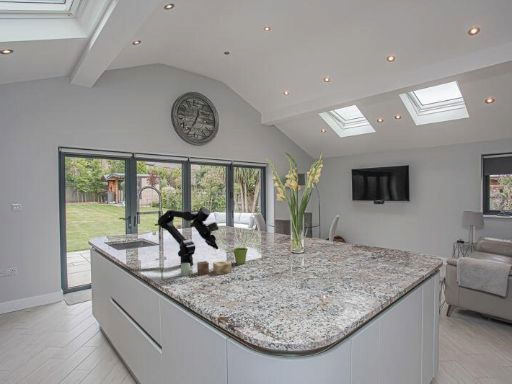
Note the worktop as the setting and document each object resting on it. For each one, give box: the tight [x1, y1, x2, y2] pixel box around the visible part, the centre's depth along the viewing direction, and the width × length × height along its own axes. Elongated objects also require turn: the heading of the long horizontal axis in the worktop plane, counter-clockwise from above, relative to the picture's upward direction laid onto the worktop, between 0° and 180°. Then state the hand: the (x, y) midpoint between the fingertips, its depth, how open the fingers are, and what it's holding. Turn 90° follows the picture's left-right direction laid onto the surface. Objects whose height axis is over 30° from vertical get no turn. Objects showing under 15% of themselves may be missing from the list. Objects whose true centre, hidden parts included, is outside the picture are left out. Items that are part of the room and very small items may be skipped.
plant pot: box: [232, 247, 249, 265], centre depth 184 cm, size 9×9×9 cm
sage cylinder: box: [180, 263, 191, 277], centre depth 161 cm, size 5×5×6 cm
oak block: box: [212, 260, 233, 275], centre depth 166 cm, size 8×8×5 cm
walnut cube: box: [196, 260, 210, 276], centre depth 164 cm, size 5×5×6 cm
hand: (216, 246), depth 167 cm, fingers open, 9 cm apart
